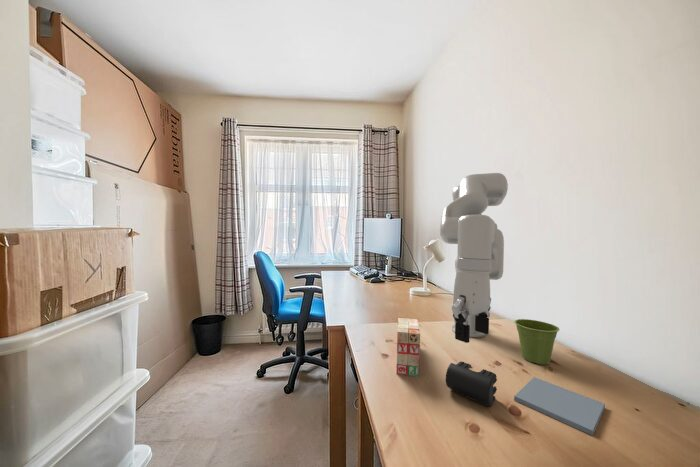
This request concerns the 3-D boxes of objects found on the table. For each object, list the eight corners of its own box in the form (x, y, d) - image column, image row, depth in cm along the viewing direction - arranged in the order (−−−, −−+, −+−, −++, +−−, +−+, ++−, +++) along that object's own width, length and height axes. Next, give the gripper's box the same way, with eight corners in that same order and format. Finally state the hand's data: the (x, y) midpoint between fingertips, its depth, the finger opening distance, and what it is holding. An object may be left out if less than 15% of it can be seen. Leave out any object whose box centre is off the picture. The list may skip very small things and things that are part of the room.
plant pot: (565, 363, 82) (566, 327, 82) (548, 372, 76) (548, 334, 76) (524, 348, 93) (525, 316, 93) (506, 356, 86) (506, 321, 86)
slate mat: (534, 380, 72) (534, 377, 72) (604, 407, 61) (604, 403, 61) (514, 400, 63) (514, 395, 63) (592, 435, 52) (592, 430, 52)
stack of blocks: (397, 343, 95) (398, 309, 95) (415, 345, 94) (416, 311, 94) (396, 374, 74) (397, 330, 74) (419, 377, 73) (420, 332, 73)
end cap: (444, 393, 65) (445, 366, 65) (456, 382, 70) (457, 357, 70) (488, 414, 58) (488, 383, 58) (498, 400, 63) (498, 372, 63)
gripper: (475, 263, 72) (474, 325, 72) (440, 265, 62) (438, 339, 61) (505, 265, 67) (503, 333, 66) (471, 269, 56) (470, 350, 55)
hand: (472, 336), depth 64 cm, fingers open, 9 cm apart
